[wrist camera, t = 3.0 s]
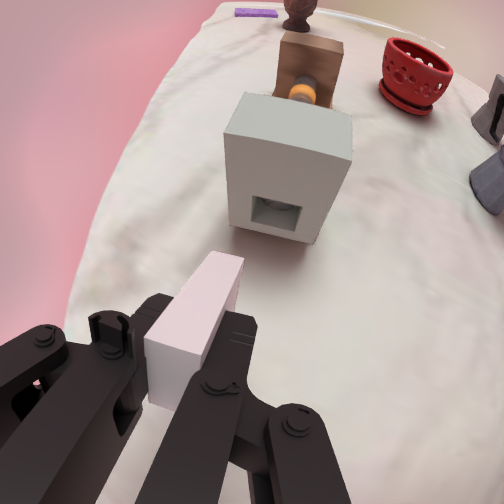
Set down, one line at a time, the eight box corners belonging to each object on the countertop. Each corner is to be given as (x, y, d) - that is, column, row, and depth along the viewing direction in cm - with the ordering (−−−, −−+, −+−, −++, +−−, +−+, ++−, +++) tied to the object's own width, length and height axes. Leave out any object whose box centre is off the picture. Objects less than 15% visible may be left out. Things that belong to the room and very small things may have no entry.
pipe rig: (330, 102, 39) (346, 43, 28) (314, 241, 28) (350, 167, 18) (276, 90, 40) (282, 29, 29) (229, 221, 29) (224, 139, 18)
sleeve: (318, 202, 28) (352, 115, 17) (312, 244, 26) (352, 161, 15) (243, 184, 28) (244, 92, 18) (229, 225, 26) (223, 132, 16)
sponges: (235, 12, 62) (235, 8, 60) (275, 13, 62) (275, 9, 61) (235, 18, 59) (235, 12, 57) (278, 19, 60) (278, 14, 58)
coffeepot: (462, 108, 45) (490, 55, 29) (486, 121, 45) (516, 74, 28) (485, 150, 39) (525, 92, 22) (509, 164, 38) (548, 114, 22)
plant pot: (392, 78, 46) (408, 35, 35) (439, 114, 42) (462, 72, 31) (358, 86, 42) (375, 34, 31) (413, 128, 38) (441, 76, 27)
